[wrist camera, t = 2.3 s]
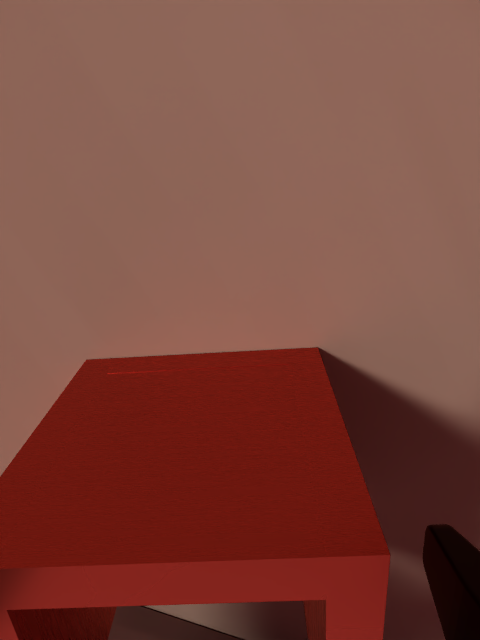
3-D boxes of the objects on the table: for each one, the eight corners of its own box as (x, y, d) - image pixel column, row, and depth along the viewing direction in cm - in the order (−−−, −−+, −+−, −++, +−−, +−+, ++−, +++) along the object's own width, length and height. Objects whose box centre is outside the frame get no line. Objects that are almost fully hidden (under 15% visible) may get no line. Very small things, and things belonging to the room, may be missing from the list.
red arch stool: (317, 347, 11) (390, 553, 5) (317, 497, 13) (371, 765, 7) (86, 359, 11) (-70, 571, 6) (119, 505, 13) (27, 771, 8)
